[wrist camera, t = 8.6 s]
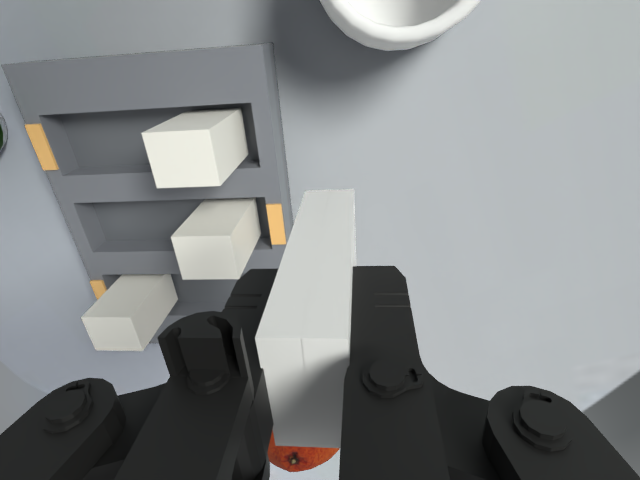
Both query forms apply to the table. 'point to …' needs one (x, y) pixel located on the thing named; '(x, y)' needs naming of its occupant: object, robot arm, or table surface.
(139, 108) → the switch board
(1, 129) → the beer can
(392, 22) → the mug
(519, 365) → the table surface
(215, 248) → the white cuboid
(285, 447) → the fruit
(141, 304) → the tab
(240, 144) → the white rectangular block
